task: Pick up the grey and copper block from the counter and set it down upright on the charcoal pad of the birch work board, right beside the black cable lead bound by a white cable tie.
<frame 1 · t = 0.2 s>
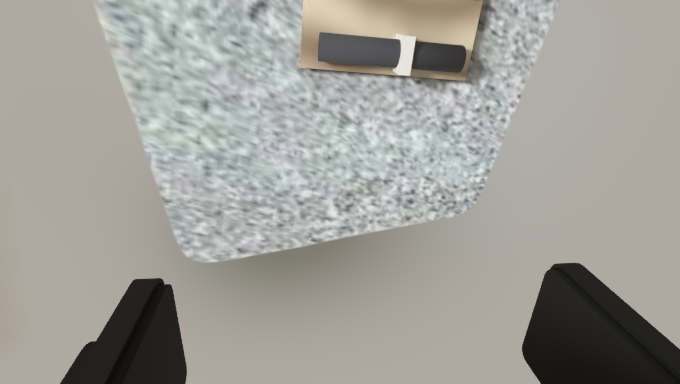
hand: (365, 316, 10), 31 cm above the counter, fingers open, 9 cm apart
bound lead: (385, 50, 36), resting on work board
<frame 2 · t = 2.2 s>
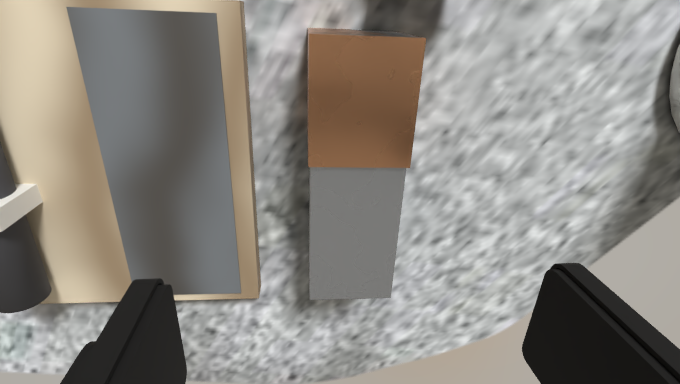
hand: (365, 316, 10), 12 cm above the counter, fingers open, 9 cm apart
work board: (117, 165, 20), on the counter
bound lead: (15, 165, 20), resting on work board
grey and copper block: (346, 149, 21), on the counter
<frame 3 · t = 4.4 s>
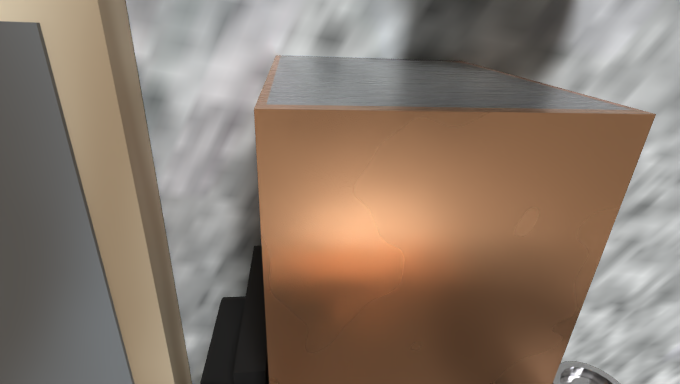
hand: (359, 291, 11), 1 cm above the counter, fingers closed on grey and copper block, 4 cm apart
grey and copper block: (356, 278, 11), on the counter, touching gripper
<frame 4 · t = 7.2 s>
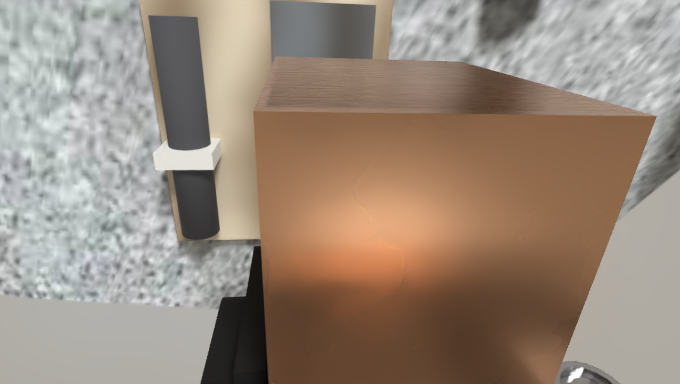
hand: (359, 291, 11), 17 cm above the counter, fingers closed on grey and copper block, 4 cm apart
work board: (275, 126, 26), on the counter
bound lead: (197, 125, 25), resting on work board
grey and copper block: (356, 279, 11), point 17 cm above the counter, touching gripper
when the fingers open (3 cm above the counter, at t = 10.4 s): grey and copper block drops 1 cm, resting on work board.
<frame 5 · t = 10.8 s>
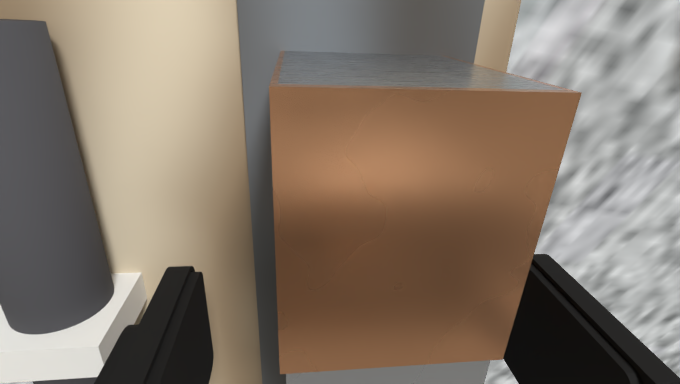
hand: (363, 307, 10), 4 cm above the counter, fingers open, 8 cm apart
work board: (257, 235, 13), on the counter
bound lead: (99, 239, 12), resting on work board
grey and copper block: (352, 253, 12), point 1 cm above the counter, touching work board
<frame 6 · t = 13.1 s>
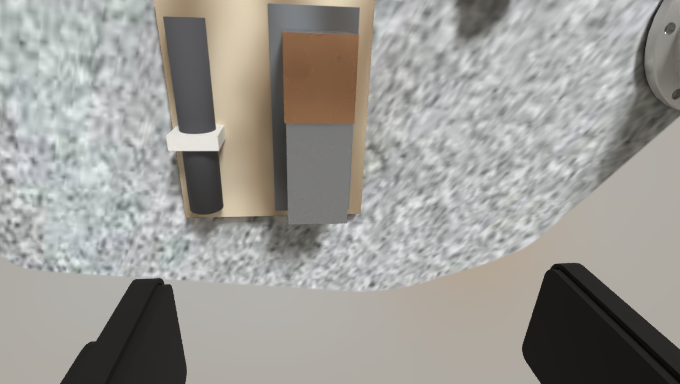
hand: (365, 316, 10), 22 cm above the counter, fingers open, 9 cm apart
work board: (272, 114, 29), on the counter
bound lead: (203, 113, 28), resting on work board
grey and copper block: (314, 118, 28), point 1 cm above the counter, touching work board
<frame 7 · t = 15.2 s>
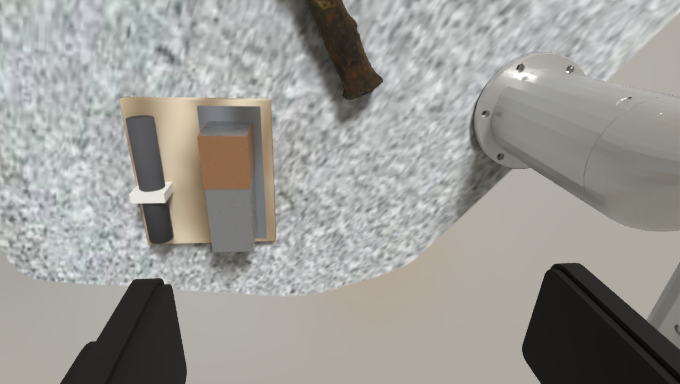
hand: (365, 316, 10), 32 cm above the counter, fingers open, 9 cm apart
work board: (207, 173, 41), on the counter
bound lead: (159, 173, 41), resting on work board
grey and copper block: (235, 177, 40), point 1 cm above the counter, touching work board
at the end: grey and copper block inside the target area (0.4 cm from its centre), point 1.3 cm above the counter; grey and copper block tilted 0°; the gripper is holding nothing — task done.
